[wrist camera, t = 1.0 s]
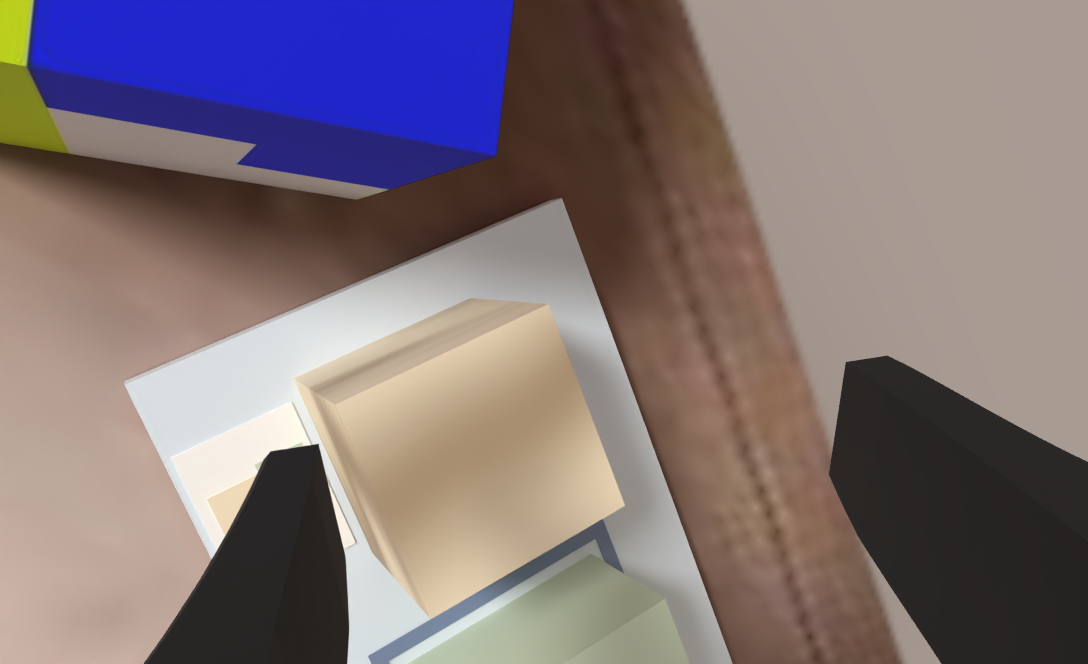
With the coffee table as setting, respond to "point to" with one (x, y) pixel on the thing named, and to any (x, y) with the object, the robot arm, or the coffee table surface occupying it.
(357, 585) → the board
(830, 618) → the coffee table surface
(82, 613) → the coffee table surface
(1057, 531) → the robot arm
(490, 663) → the sage base block
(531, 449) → the maple block
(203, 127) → the puzzle toy
